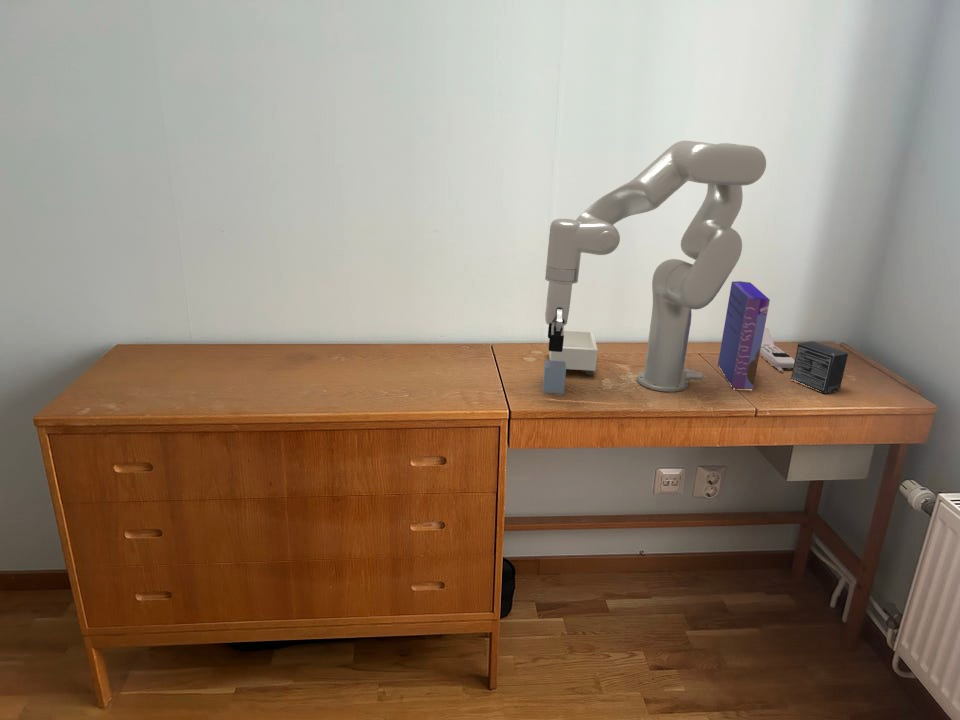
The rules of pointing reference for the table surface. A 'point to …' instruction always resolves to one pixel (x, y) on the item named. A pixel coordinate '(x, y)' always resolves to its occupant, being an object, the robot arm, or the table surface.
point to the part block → (554, 377)
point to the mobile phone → (775, 352)
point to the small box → (819, 366)
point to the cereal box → (743, 334)
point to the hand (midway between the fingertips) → (554, 344)
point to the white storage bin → (577, 351)
